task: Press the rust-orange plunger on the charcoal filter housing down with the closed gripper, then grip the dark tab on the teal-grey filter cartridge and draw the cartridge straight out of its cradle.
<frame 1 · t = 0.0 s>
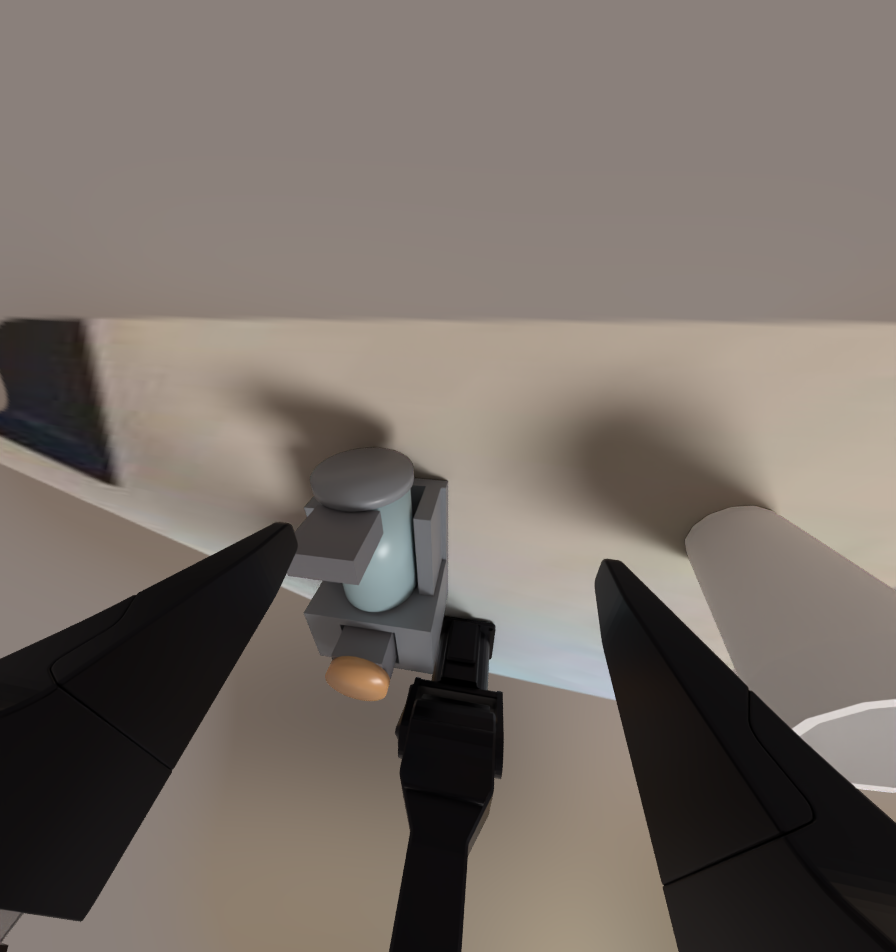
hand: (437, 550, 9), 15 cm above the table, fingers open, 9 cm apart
cartridge: (364, 548, 22), point 6 cm above the table, slide at 0.0 cm
plunger: (366, 657, 25), point 9 cm above the table, slide at 0.0 cm
foam cup: (730, 536, 25), on the table
housing: (394, 530, 29), on the table
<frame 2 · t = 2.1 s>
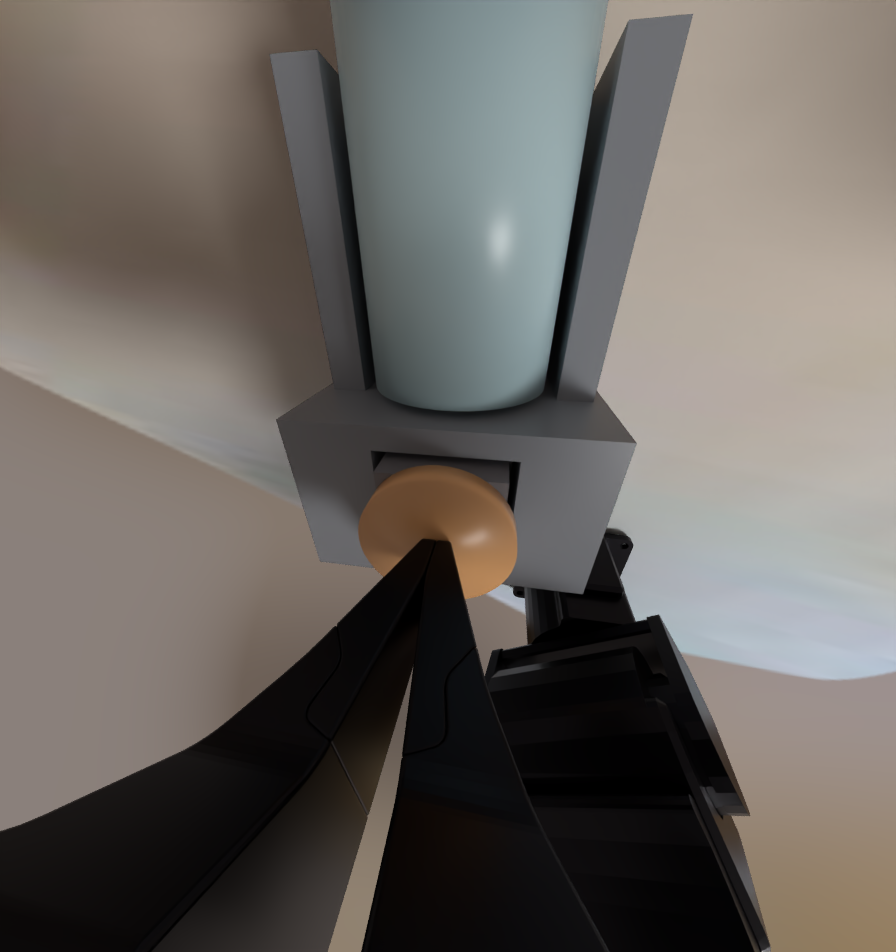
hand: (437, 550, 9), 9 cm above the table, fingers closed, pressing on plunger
cartridge: (455, 167, 7), point 6 cm above the table, slide at 0.0 cm
plunger: (446, 505, 11), point 7 cm above the table, slide at -1.5 cm, touching gripper
housing: (472, 316, 14), on the table
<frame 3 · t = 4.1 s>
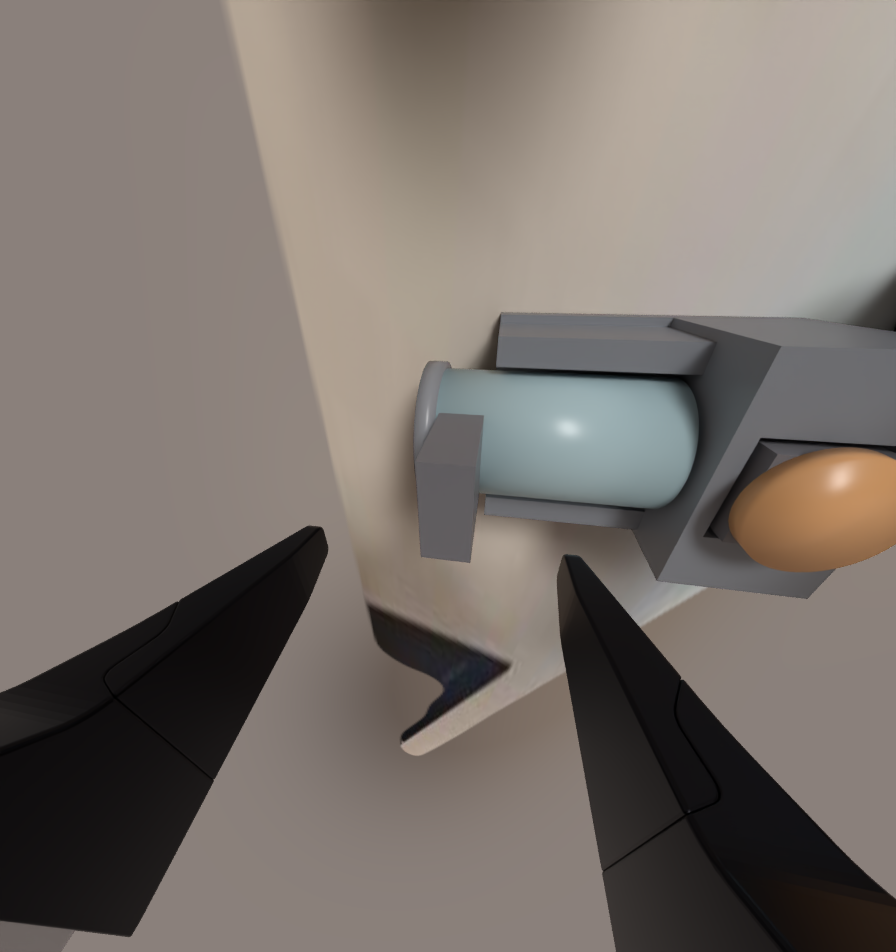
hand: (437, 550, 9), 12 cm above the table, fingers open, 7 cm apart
cartridge: (541, 453, 14), point 6 cm above the table, slide at 0.0 cm
plunger: (783, 487, 12), point 7 cm above the table, slide at -1.7 cm
housing: (596, 409, 19), on the table
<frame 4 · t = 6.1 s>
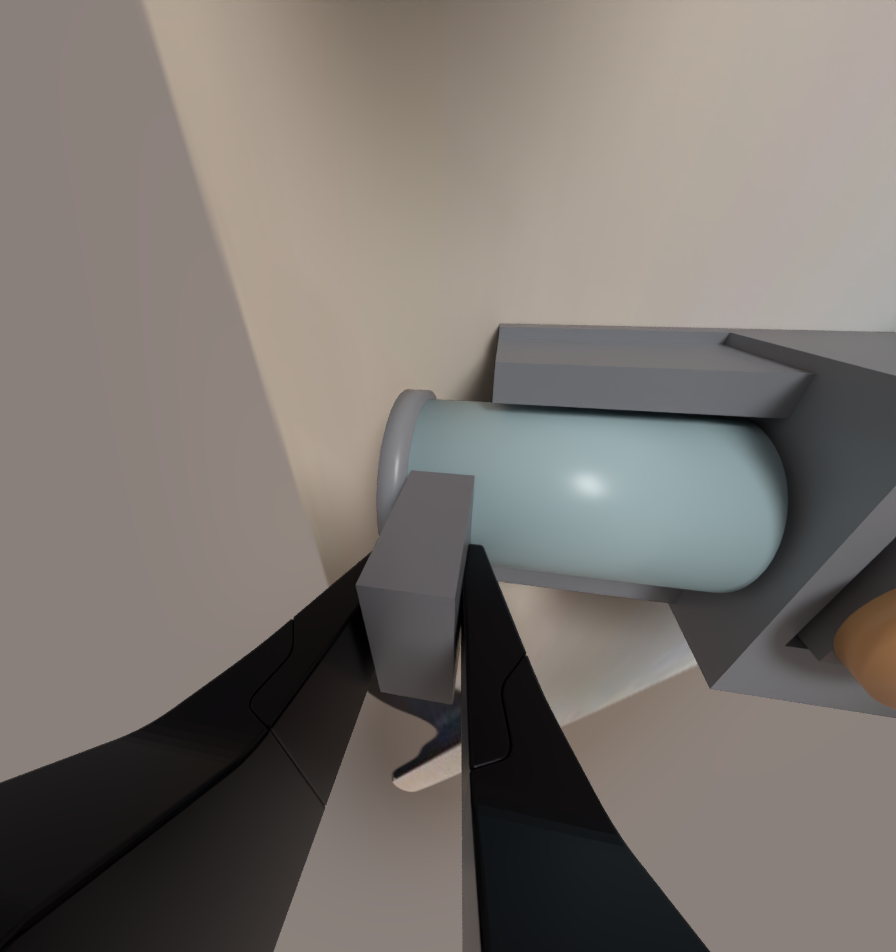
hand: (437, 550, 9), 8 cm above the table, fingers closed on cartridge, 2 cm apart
cartridge: (554, 517, 10), point 6 cm above the table, slide at 0.0 cm, touching gripper
housing: (619, 443, 15), on the table
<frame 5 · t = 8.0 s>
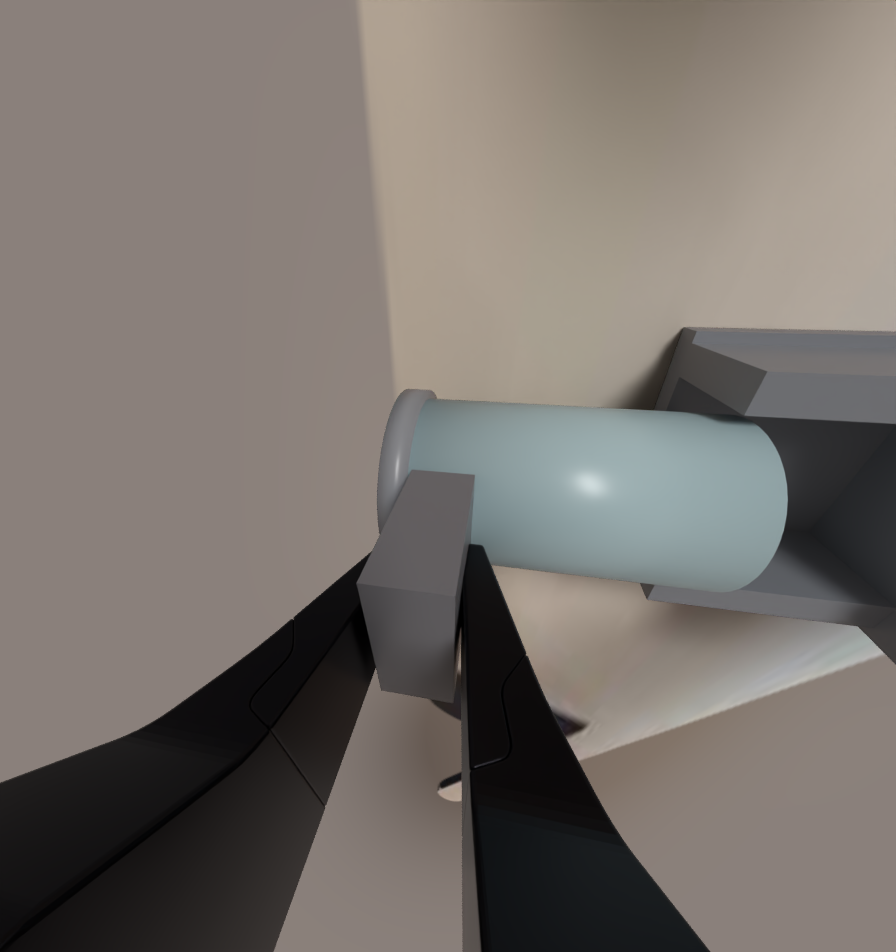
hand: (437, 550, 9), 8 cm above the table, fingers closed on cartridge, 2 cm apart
cartridge: (554, 517, 10), point 6 cm above the table, slide at 6.9 cm, touching gripper
housing: (786, 454, 14), on the table
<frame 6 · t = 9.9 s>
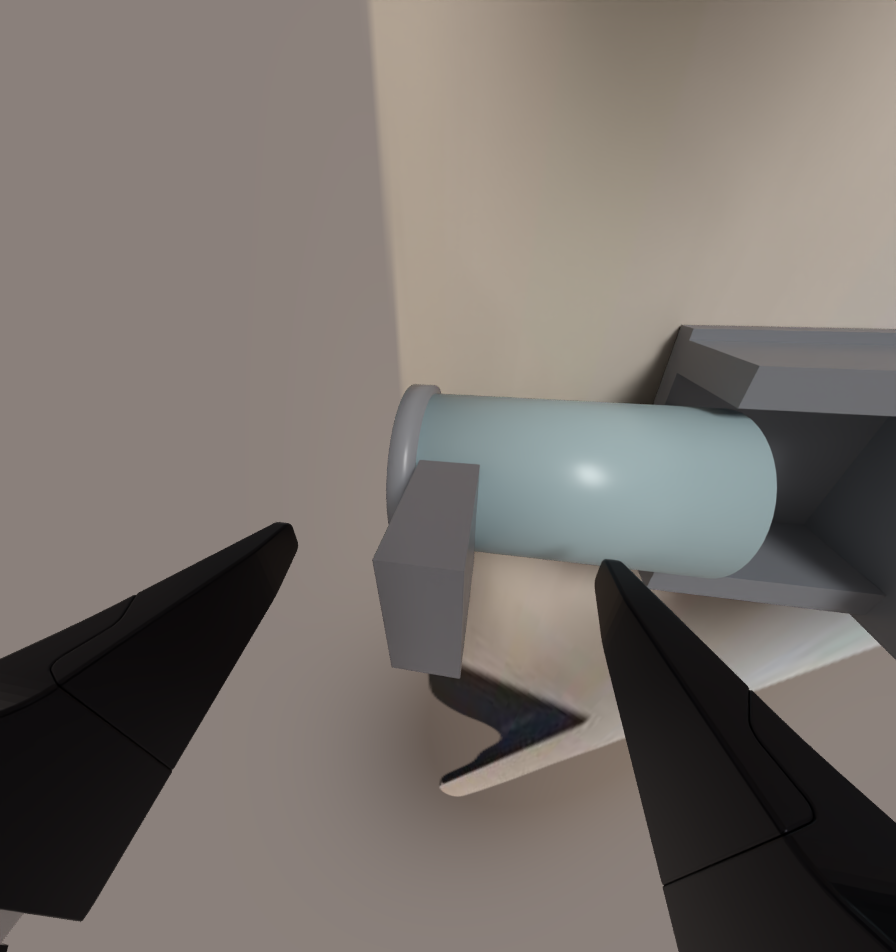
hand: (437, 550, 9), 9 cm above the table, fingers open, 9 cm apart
cartridge: (555, 506, 11), point 6 cm above the table, slide at 7.0 cm
housing: (781, 448, 14), on the table
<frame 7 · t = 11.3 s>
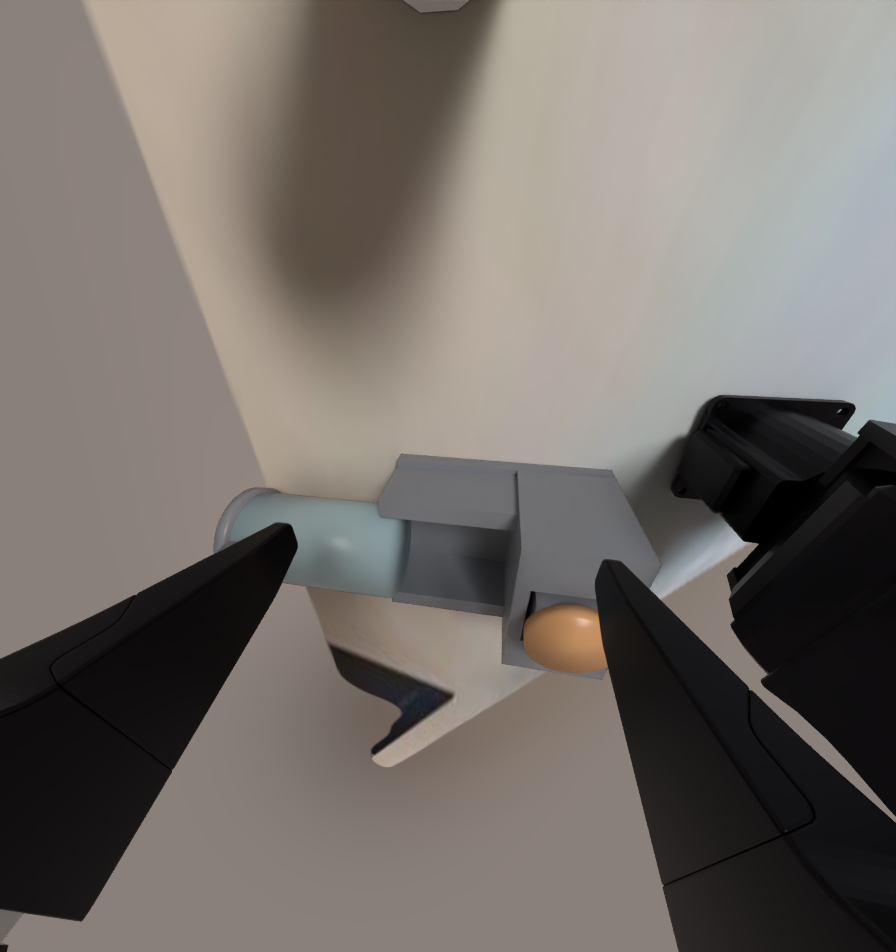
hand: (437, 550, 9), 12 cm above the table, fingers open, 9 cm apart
cartridge: (311, 560, 21), point 6 cm above the table, slide at 7.0 cm
plunger: (565, 612, 17), point 7 cm above the table, slide at -1.7 cm
housing: (482, 517, 24), on the table
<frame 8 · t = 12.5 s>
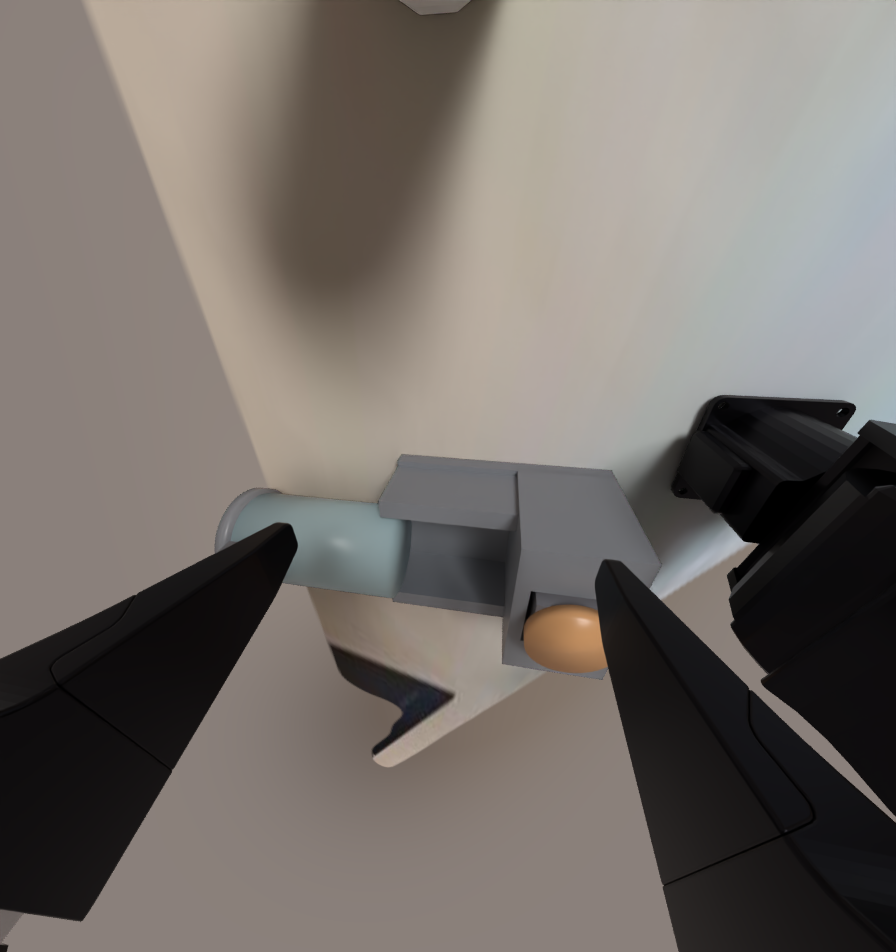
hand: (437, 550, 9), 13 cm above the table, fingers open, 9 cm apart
cartridge: (312, 560, 21), point 6 cm above the table, slide at 7.0 cm
plunger: (565, 612, 17), point 7 cm above the table, slide at -1.7 cm
housing: (482, 517, 24), on the table
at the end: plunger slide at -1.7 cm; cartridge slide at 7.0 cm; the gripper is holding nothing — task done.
